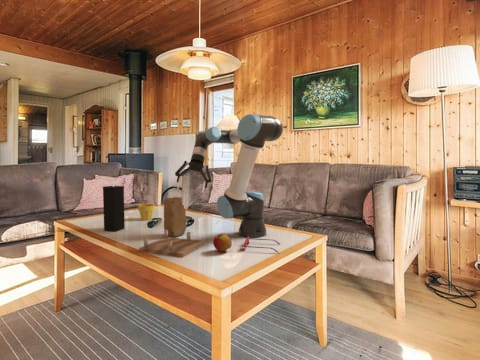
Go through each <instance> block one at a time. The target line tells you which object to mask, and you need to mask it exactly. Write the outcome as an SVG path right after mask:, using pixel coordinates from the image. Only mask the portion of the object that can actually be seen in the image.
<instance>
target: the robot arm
mask: <svg viewBox="0 0 480 360" xmlns="http://www.w3.org/2000/svg"><path fill="white" fill-rule="evenodd" d="M283 131H284V127H283V124H282V122H281V120H279V119H278V118H277V117H275V116H271V115H270V116H269V115H262V114H256V113H252V114H250V113H249V114H248V113H247V114H246V115H244V116H243V117H242V118H241V119H240V120H239V122H238V125H237V128H235V129H230V130H226V129H225V130H223V129H220V128H219V127H217V126H211V127H209V128H208V129H206V130H205V131H204V130H202V131H201V130H200V131H198V132H197V135H196V137H195V141H194V142H195V143H194V146H193V150H192V155H191V158H190V162H189V161H187V160H184V162H183V163H182V165H181V166H179V168H178V169H177V170H176V171H175V172H174V174H175V177H177V178H176V183H177V185H176V188H177V190H179V189H180V184H181V181H182V177H183V176H184V175H187V173H189V172H191V171H192V172H196V173H199V174H200V175H201V177H202V178H203V180H204V181H203V185H202V190H201V194H204V191H205V189H207V188H208V184H209V183H210V184H211V183H212V177H211V173H210V170H209V165H204V163H205V160H206V159H205V158H206V155H207V150H208V147H209V146H210V145H212V144H231V145H236V144H238V143H240V144H241V145H240V149H239V152H238V156H237V159H236V163H235V166H234V169H233V173H232V177H231V180H230V182H229V187H228V188H226V189H224V193H223V195H221V196H218V198H217V201H216V207H217V212H218V213H219V215H220V217H222V218H223V219H234V218H241V222H240V225H239V226H238V227H239V228H238V235H239V236H241V237H245V238H247V236H248V235H249V238H260V237H261V236H262V237H264V235H265V236H266V235H267V228H266V224H265V221H264V209H265V208H264V206H265V205H264V203H265V200H264V194H263V193H262V192H256V191H247V189H248V185H249V182H250V179H251V176H252V174H253V170H254V167H255V164H256V160H257V158H258V155H259V152H260V150H261V149H263V148H264V147H265V143H266V142H274V141H277V140H278V139H280V137H281V136H282V134H283ZM186 167H187V168H186ZM185 168H186V169H185ZM203 169H204V170H205V173H206V174H205V173H204V171H203Z"/></svg>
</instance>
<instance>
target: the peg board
mask: <svg viewBox="0 0 480 360" xmlns="http://www.w3.org/2000/svg"><path fill="white" fill-rule="evenodd" d="M163 230H164V229H163ZM163 236H164V237H162V238H160V239H158V240H155V241H152V242H148V241H149V240H148V239H149V238H148V237H143V246H140V247H139V252H143V253H150V254H157V255H158V254H159V255H165V256H171V257H179V258H185V257H186V256H188V255H190V254H191V253H192V252H195V251H196V250H198V249H199V248H201V247H203V246H205V245H206V241H205V240H199V239H198V240H196V239H191V231H190V232H189V231H187V232H186V238H179V237H169V236H168V230H164V235H163Z"/></svg>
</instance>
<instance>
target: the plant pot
mask: <svg viewBox="0 0 480 360" xmlns="http://www.w3.org/2000/svg"><path fill="white" fill-rule="evenodd" d="M155 207H156V206H155V204H154V203H142V204H138V206H137V208H138V209H137V210H138V212H139V215H140V220H142V221H145V222H146V221H151V220H152V219H153V215H154V211H155Z"/></svg>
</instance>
